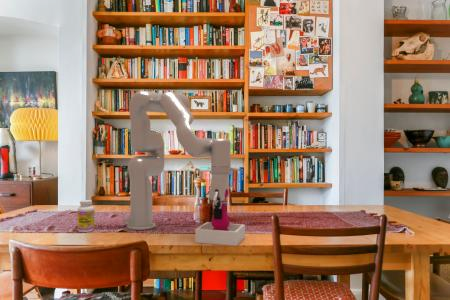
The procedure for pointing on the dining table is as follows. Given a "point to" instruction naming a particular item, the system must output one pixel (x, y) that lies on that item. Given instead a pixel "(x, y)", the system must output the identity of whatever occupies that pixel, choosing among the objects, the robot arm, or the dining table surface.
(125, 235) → the dining table surface
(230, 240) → the tote
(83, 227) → the supplement bottle
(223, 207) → the pepper mill
